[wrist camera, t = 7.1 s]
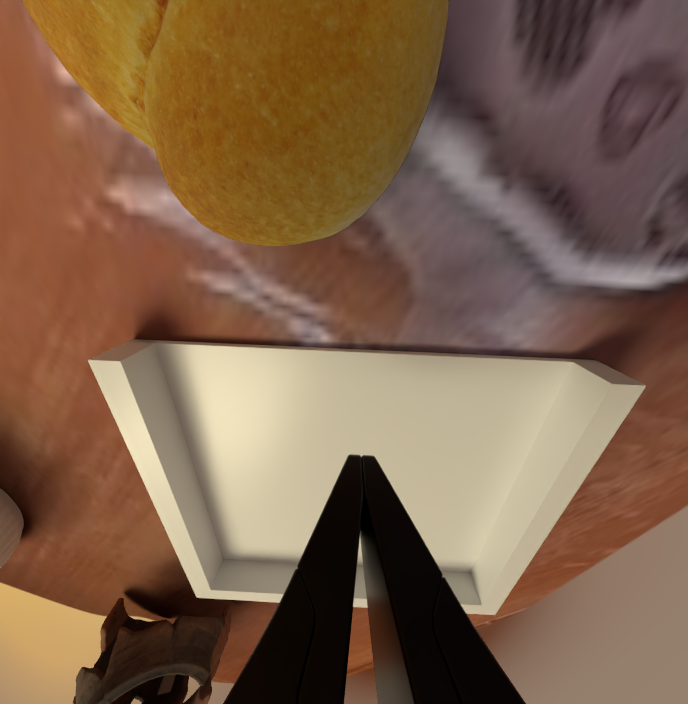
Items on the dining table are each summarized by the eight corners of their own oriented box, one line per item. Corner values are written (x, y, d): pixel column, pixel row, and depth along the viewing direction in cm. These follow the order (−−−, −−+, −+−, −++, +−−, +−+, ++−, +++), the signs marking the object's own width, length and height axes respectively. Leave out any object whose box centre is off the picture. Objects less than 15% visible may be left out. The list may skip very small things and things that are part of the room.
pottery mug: (93, 574, 20) (11, 733, 12) (222, 524, 23) (217, 623, 16) (133, 677, 22) (84, 859, 15) (243, 617, 26) (247, 739, 19)
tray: (595, 360, 10) (646, 385, 9) (480, 577, 18) (494, 615, 16) (132, 339, 11) (87, 359, 9) (212, 562, 18) (196, 597, 16)
